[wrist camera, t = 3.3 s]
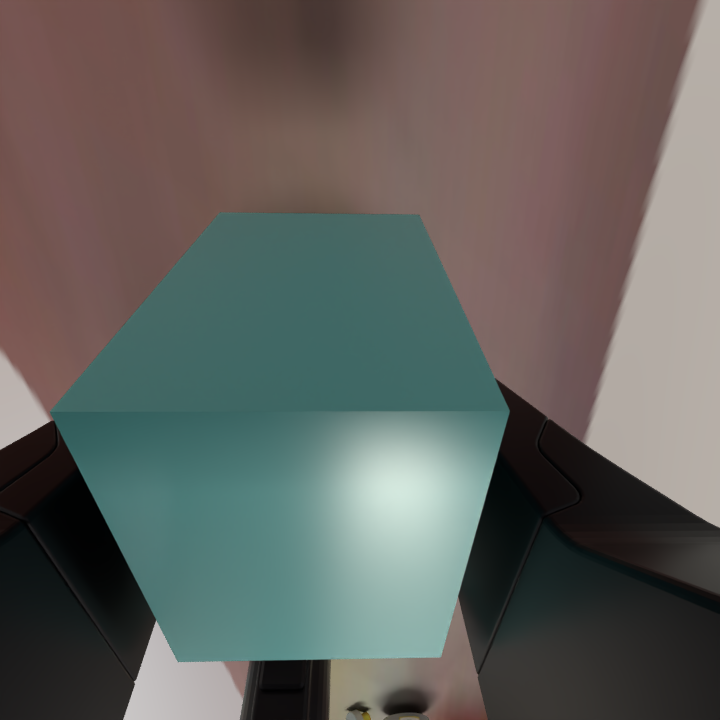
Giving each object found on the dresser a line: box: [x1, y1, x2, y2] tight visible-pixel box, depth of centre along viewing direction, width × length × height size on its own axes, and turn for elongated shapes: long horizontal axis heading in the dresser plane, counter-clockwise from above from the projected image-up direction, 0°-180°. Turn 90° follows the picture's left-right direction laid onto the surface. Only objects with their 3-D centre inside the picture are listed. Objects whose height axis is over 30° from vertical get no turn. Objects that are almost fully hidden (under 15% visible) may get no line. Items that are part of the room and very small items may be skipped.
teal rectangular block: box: [50, 212, 510, 662], centre depth 8 cm, size 5×4×6 cm
